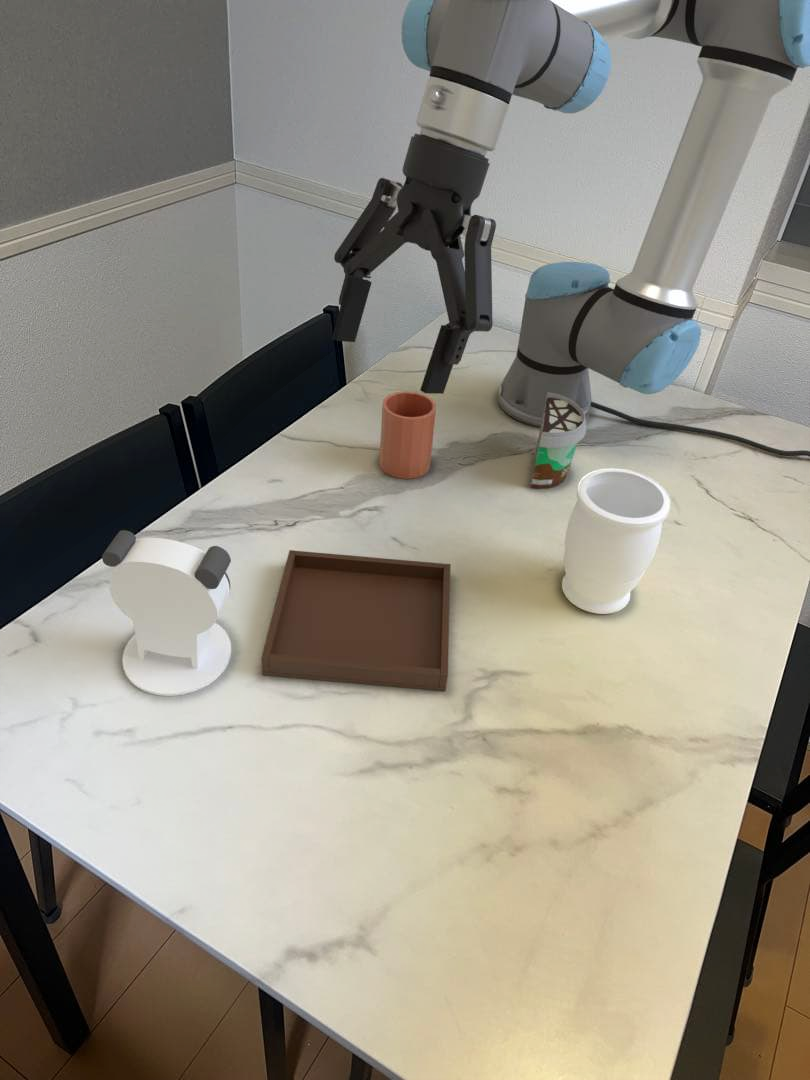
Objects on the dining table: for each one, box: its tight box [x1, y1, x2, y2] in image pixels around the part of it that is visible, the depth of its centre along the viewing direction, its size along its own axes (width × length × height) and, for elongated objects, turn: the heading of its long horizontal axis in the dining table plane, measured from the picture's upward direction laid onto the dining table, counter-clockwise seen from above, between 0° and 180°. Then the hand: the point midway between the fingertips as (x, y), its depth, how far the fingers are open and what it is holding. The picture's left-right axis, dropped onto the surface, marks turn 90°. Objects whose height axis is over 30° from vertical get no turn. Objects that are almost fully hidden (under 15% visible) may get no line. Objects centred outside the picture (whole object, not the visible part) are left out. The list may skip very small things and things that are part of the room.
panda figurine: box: [101, 529, 232, 697], centre depth 82 cm, size 12×11×15 cm
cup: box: [378, 391, 437, 480], centre depth 114 cm, size 7×7×10 cm
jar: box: [561, 467, 672, 615], centre depth 94 cm, size 11×10×15 cm
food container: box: [530, 392, 587, 490], centre depth 115 cm, size 12×6×10 cm, turn 168°
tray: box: [260, 549, 451, 692], centre depth 91 cm, size 20×18×3 cm
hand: (385, 365), depth 81 cm, fingers open, 13 cm apart
